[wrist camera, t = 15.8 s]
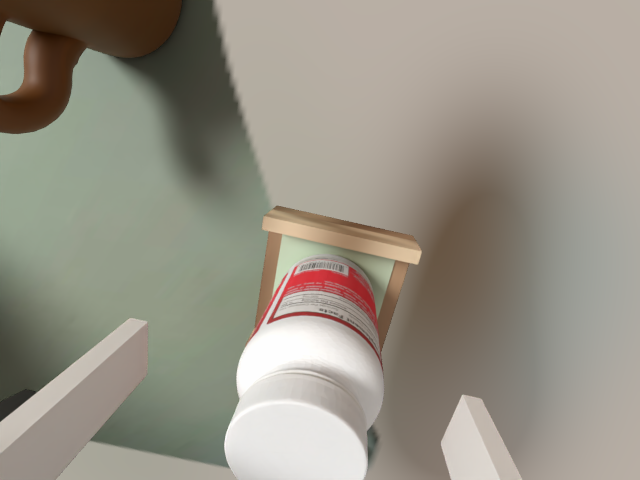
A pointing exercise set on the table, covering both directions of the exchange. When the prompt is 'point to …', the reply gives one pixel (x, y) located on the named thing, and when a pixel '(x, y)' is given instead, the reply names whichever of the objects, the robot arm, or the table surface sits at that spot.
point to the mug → (75, 48)
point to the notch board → (342, 240)
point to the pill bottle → (309, 378)
